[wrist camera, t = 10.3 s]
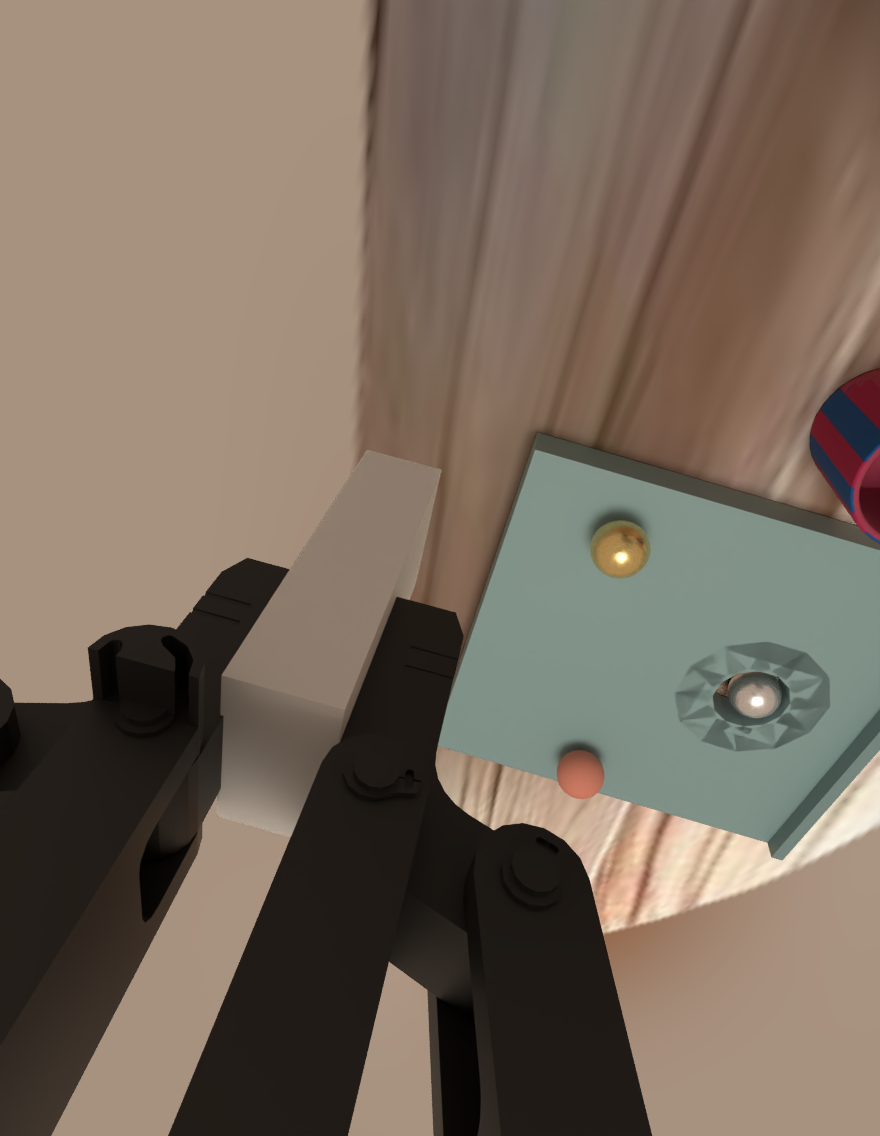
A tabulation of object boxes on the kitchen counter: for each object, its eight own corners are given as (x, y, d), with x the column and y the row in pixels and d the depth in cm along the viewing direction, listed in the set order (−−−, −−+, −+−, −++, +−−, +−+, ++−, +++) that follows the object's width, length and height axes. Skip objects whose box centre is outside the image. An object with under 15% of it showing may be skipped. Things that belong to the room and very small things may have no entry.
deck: (537, 432, 40) (534, 458, 37) (979, 561, 40) (1013, 598, 37) (439, 719, 53) (431, 757, 50) (770, 817, 53) (782, 860, 50)
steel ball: (785, 703, 43) (797, 677, 45) (736, 674, 44) (749, 649, 46) (759, 737, 44) (771, 710, 47) (712, 707, 46) (726, 682, 48)
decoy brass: (601, 502, 39) (603, 530, 36) (657, 518, 39) (663, 548, 36) (581, 549, 41) (581, 580, 38) (634, 565, 41) (638, 596, 38)
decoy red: (565, 734, 49) (565, 770, 46) (610, 748, 49) (612, 784, 46) (551, 764, 50) (549, 801, 48) (594, 777, 50) (595, 814, 48)
